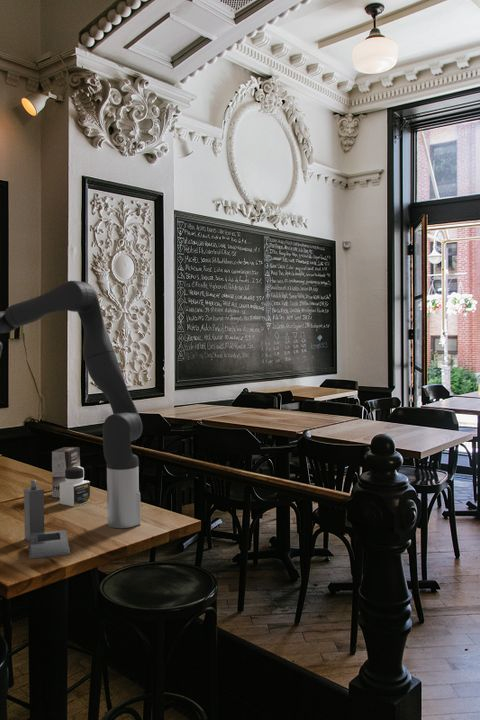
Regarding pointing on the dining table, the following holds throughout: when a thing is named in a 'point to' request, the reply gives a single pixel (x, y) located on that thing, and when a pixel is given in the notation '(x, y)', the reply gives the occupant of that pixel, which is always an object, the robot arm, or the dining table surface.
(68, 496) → the medicine bottle
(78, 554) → the dining table surface
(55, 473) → the coffee box
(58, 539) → the socket
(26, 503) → the plug
